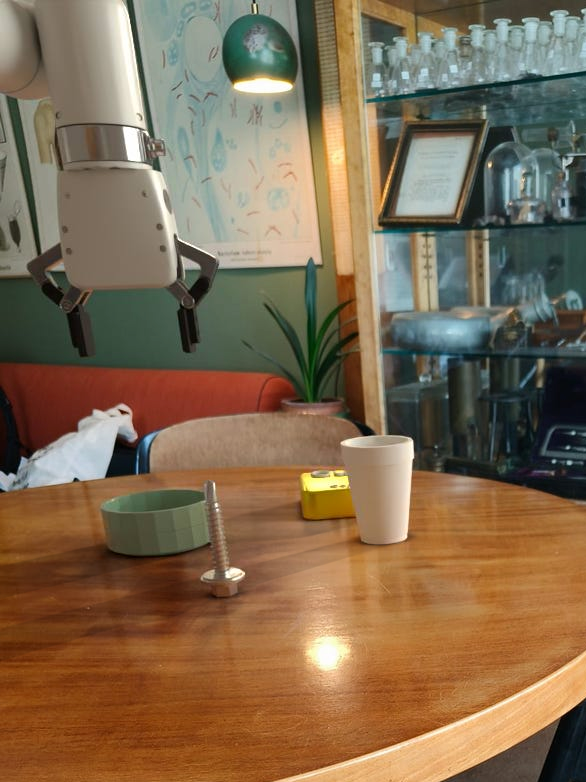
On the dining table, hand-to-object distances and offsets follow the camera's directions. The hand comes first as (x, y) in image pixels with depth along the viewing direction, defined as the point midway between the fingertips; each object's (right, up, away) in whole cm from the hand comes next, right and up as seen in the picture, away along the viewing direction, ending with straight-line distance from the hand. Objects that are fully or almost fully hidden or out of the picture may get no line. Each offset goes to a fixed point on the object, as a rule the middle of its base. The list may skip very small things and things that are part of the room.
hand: (139, 354), depth 86 cm
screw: (+4, -23, +14) cm, 27 cm away
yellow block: (+13, -7, +52) cm, 54 cm away
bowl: (-10, -15, +35) cm, 39 cm away
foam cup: (+20, -14, +34) cm, 42 cm away
